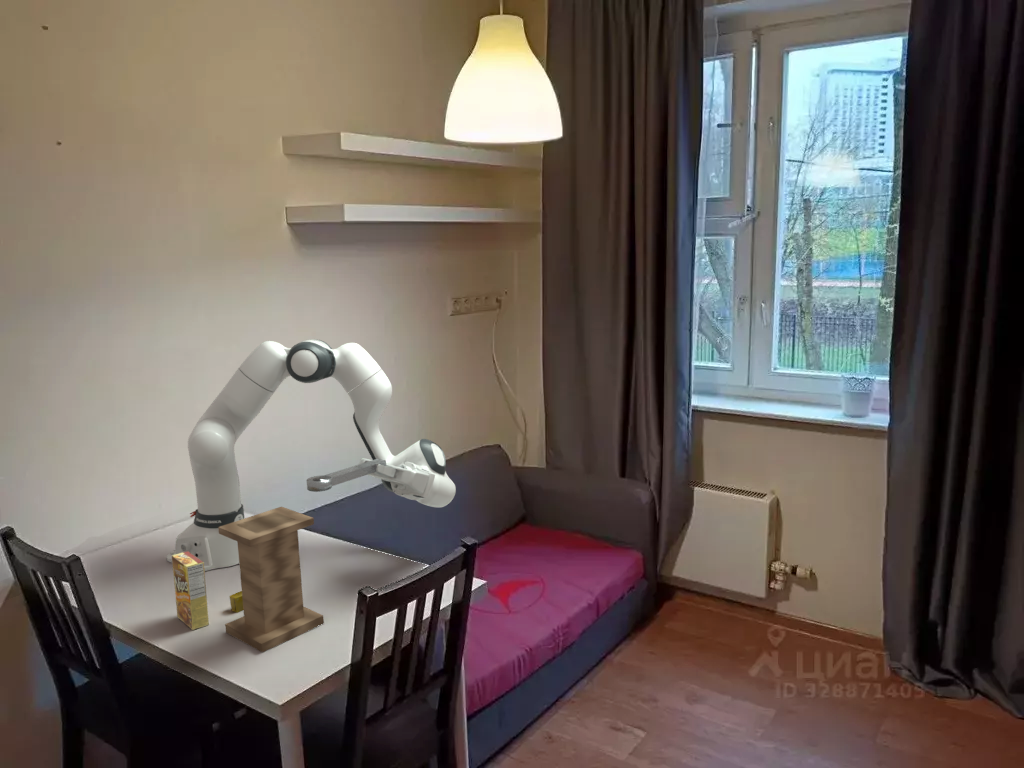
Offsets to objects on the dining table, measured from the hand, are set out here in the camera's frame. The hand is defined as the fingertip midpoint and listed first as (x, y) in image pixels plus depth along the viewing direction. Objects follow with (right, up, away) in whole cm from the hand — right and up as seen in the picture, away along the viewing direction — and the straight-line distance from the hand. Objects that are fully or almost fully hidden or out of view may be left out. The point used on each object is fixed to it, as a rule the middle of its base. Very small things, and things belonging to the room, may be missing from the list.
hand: (370, 465), depth 203 cm
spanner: (-5, -3, -5) cm, 7 cm away
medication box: (-27, -33, -3) cm, 43 cm away
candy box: (-38, -35, -12) cm, 53 cm away
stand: (-19, -35, -16) cm, 43 cm away
